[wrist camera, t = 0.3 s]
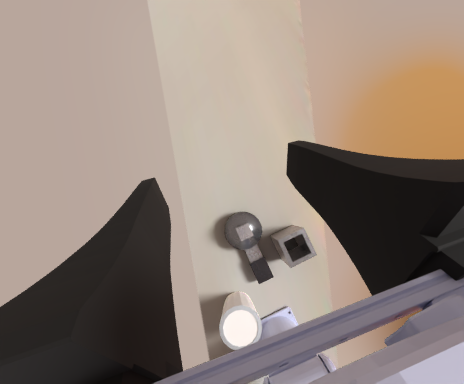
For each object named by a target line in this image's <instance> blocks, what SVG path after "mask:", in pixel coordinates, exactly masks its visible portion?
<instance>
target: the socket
mask: <svg viewBox="0 0 464 384" xmlns="http://www.w3.org/2000/svg"><path fill="white" fill-rule="evenodd" d="M270 237H271V239H272V241H273V243H274V245H275V247H276V249H277V252H278V254H279V256H280V258H281V259H282V260H283V261H284V262H285V263H286V264H287V265H288V266H289V267H290V268H292V267H294V266H296V265H298V264H300V263H302V262H304V261H306V260H308V259H310V258H312V257H314V256H316V255H317V254H316V252H315V250H314V248H313V246H312V244H311V242H310V240H309V238H308V235H307V233H306V231H305V229H304V228H302V227H298V226H294V225H291V226H289V227H287V228H285V229H283V230H281V231H279V232H277V233H275V234H273V235H271V236H270ZM292 238H295V240H296V242H297V244H298V247H296V248H294V249H292V250H290V251H287V249H286V247H285V245H284V243H283V242H285V241H287V240H290V239H292Z"/></svg>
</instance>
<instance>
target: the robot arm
mask: <svg viewBox="0 0 464 384" xmlns="http://www.w3.org/2000/svg"><path fill="white" fill-rule="evenodd" d="M286 175H287V176H288V178H289V179H290V181H291V183H292V184H293V185H294V187H295V188H296V189H297V191H298V192H299V193H300V194H301V195H302V196H303V197H304V198H305V199H306V201H307V202H308V203H309V204H310V205H311V206H312V207H313V208H314V209H315V210H316V211H317V212H318V214H319V215H320V216H321V217H322V218H323V219H324V221H325V222H326V223H327V225H328V226H329V227H330V229H331V230H332V232H333V233H334V234H335V236H336V237H337V238H338V240H339V242H340V243H341V245H342V246H343V247H344V249H345V250H346V252H347V254H348V255H349V257H350V258H351V260H352V262H353V263H354V265H355V266H356V268H357V270H358V271H359V273H360V275H361V277H362V278H363V280H364V282H365V284H366V285H367V287H368V289H369V291H370V293H371V294H372V296H371V297H369V298H366V299H364V300H361V301H359V302H356V303H353V304H351V305H348V306H346V307H344V308H341V309H338V310H336V311H333V312H331V313H328V314H326V315H323V316H321V317H318V318H316V319H313V320H311V321H308V322H306V323H303V324H301V325H298V323H297V321H296V319H295V317H294V315H293V313H292V311H291V309H290V307H285V308H283V309H282V310H280V311H278V312H276V313H274V314H272V315H270V316H268V317H266V318H264V319H262V320H261V324H262V332H261V336H260V339H259V341H258V342H255V343H253V344H250V345H248V346H245V347H243V348H240V349H238V350H235V351H233V352H230V353H228V354H225V355H223V356H220V357H218V358H215V359H213V360H210V361H208V362H205V363H203V364H200V365H198V366H195V367H193V368H190V369H188V370H185V371H183V367H182V361H181V355H180V348H179V341H178V335H177V327H176V319H175V312H174V304H173V294H172V283H171V273H170V241H171V240H170V238H171V222H170V214H169V208H168V205H167V203H166V201H165V199H164V197H163V195H162V192H161V190H160V188H159V186H158V184H157V181H156V179H155V178H151V179H147V180H144V181H142V182H141V183H140V184H139V185H138V186H137V188H136V189H135V190H134V191H133V193H132V194H131V195H130V197H129V198H128V199H127V200H126V202H125V203H124V204H123V205H122V206H121V208H120V209H119V210H118V211H117V212H116V213H115V214H114V216H113V217H112V218H111V219H110V220H109V221H108V222H107V224H105V226H104V227H103V228H102V229H101V230H100V231H99V232H98V233H97V234H95V235H94V236H93V237H92V238H91V239H90V240H89V241H88V242H87V243H86V244H85V245H84V246H82V247H81V248H80V249H79V250H77V252H75V253H74V254H73V255H72V256H70V257H69V258H68V259H67V260H65V261H64V262H63V263H62V264H61V265H59V266H58V267H57V268H55V269H54V270H53V271H51V272H50V273H49V274H47V275H46V276H45V277H43V278H42V279H41V280H39V281H38V282H36V283H35V284H34V285H32V286H31V287H29V288H28V289H27V290H25V291H24V292H22V293H21V294H19V295H18V296H17V297H15V298H13V299H12V300H10V301H9V302H7V303H6V304H4V305H3V306H1V307H0V384H247V383H249V382H251V381H254V380H256V379H259V378H261V377H263V376H266V375H268V374H269V378H268V377H266V378H264V382H263V384H464V159H462V160H434V159H432V160H431V159H430V160H429V159H407V158H394V157H384V156H376V155H368V154H362V153H356V152H351V151H346V150H341V149H337V148H332V147H328V146H324V145H320V144H315V143H311V142H306V141H295V142H291V143H288V154H287V174H286ZM421 309H422V311H421V312H419V313H417V314H415V315H413V316H412V317H410V318H408V320H407V321H406V322H405V324H404V325H403V326H402V327H400V328H399V329H398V330H397V331H396V332H394V333H393V334H391V335H390V336H389V337H387V338H386V339H385V344H386V345H387V346H388V347H385V348H383V349H381V350H379V351H376V352H374V353H372V354H370V355H368V356H365V357H363V358H361V359H359V360H357V361H354V362H352V363H350V364H348V365H346V366H344V367H342V368H339V369H336V367H335V366H334V364H333V363H332V361H331V360H330V358H329V357H328V356H326V355H324V354H323V353H320V352H322V351H324V350H327V349H329V348H331V347H334V346H336V345H338V344H341V343H343V342H345V341H348V340H350V339H353V338H355V337H357V336H359V335H362V334H364V333H367V332H369V331H371V330H374V329H376V328H378V327H381V326H383V325H385V324H388V323H390V322H392V321H395V320H397V319H400V318H402V317H404V316H407V315H409V314H411V313H414V312H416V311H418V310H421ZM289 311H290V313H288V312H289ZM317 353H319V354H318V356H317V355H316V354H317Z"/></svg>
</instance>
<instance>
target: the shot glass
mask: <svg viewBox="0 0 464 384" xmlns="http://www.w3.org/2000/svg"><path fill="white" fill-rule="evenodd" d="M219 330H220V336H221V338H222V340H223V342H224V344H226V345H227V346H228V347H229V348H231V349H233V350H238V349H240V348H243V347H245V346H248V345H250V344H253V343H255V342H258V340H259V339H260V336H261V332H262V324H261V319H260V317H259V315H258V313H257V311H256V309H255V307H254V305H253V303H252V301H251V299H250V297H249V296H248V295H247V294H246V293H244V292H240V291H238V292H233V293H231V294H230V295H228V297H227V298H226V299H225V303H224V307H223V311H222V316H221V320H220V325H219Z"/></svg>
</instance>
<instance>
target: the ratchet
mask: <svg viewBox="0 0 464 384" xmlns="http://www.w3.org/2000/svg"><path fill="white" fill-rule="evenodd" d="M261 235H262V227H261V224H260V222H259V220H258V219H257V218H256V217H255V216H254V215H253V214H251V213H248V212H238V213H235V214H233V215H232V216H231V217H230V218H229V219H228V220H227V222H226V225H225V236H226V239H227V240H228V242H229V243H230V244H231V245H232V246H233V247H235V248H237V249H241V250H245V252H246V254H247V256H248V258H249V260H250V261H249V263H250V265H251V267H252V269H253V272H254V274H255V276H256V278H257V280H258V283H259V284H260V283H262V282H264V281H267V280H269V279H271V278H273V275H272V272H271V270H270V268H269V266H268V264H267V262H266V260H265V257H264V256H263V255H262V254H261V252H260V250H259V247H258V245H257V243H258V242H259V240H260V238H261Z"/></svg>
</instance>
